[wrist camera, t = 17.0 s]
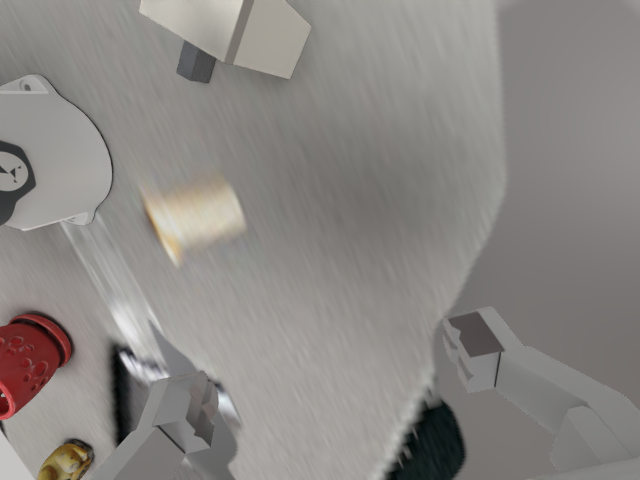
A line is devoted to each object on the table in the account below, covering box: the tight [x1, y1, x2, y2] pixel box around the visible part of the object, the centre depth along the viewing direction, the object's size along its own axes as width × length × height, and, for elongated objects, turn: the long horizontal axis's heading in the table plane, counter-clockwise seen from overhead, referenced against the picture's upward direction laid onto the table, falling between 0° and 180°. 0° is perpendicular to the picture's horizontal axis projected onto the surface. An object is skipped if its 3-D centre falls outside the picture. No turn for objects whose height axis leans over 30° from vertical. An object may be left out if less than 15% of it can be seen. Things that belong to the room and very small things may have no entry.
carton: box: [138, 0, 312, 79], centre depth 25 cm, size 5×6×14 cm
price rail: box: [176, 40, 216, 83], centre depth 29 cm, size 2×14×4 cm, turn 152°
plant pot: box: [0, 314, 71, 420], centre depth 52 cm, size 13×13×12 cm
